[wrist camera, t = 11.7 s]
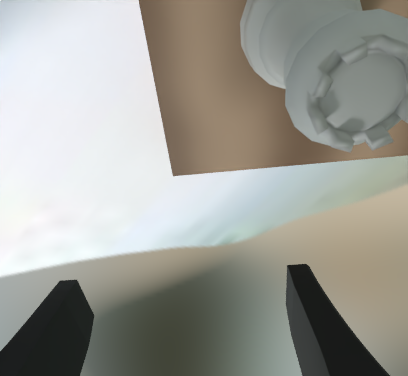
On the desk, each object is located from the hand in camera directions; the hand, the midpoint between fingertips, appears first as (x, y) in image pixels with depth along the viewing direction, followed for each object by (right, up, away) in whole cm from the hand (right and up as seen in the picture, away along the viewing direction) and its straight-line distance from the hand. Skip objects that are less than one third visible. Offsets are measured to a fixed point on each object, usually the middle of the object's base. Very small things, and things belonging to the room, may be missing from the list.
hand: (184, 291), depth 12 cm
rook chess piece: (+4, +10, +2) cm, 11 cm away
